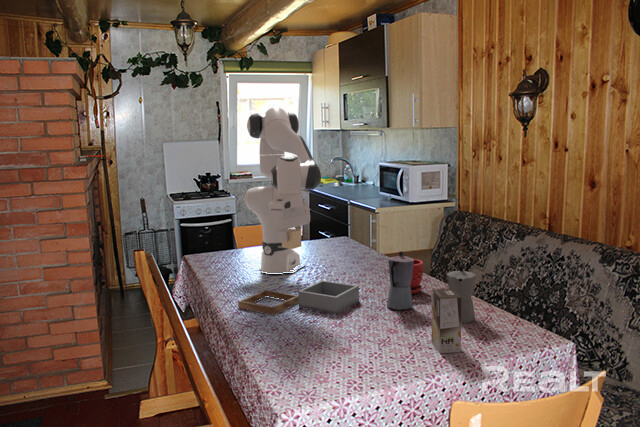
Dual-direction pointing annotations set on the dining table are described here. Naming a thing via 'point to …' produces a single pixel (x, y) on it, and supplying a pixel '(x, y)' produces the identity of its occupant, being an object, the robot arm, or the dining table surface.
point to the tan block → (292, 239)
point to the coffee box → (446, 320)
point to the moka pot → (400, 282)
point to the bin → (328, 296)
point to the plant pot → (416, 276)
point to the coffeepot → (463, 291)
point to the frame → (249, 305)
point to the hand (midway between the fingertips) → (291, 239)
